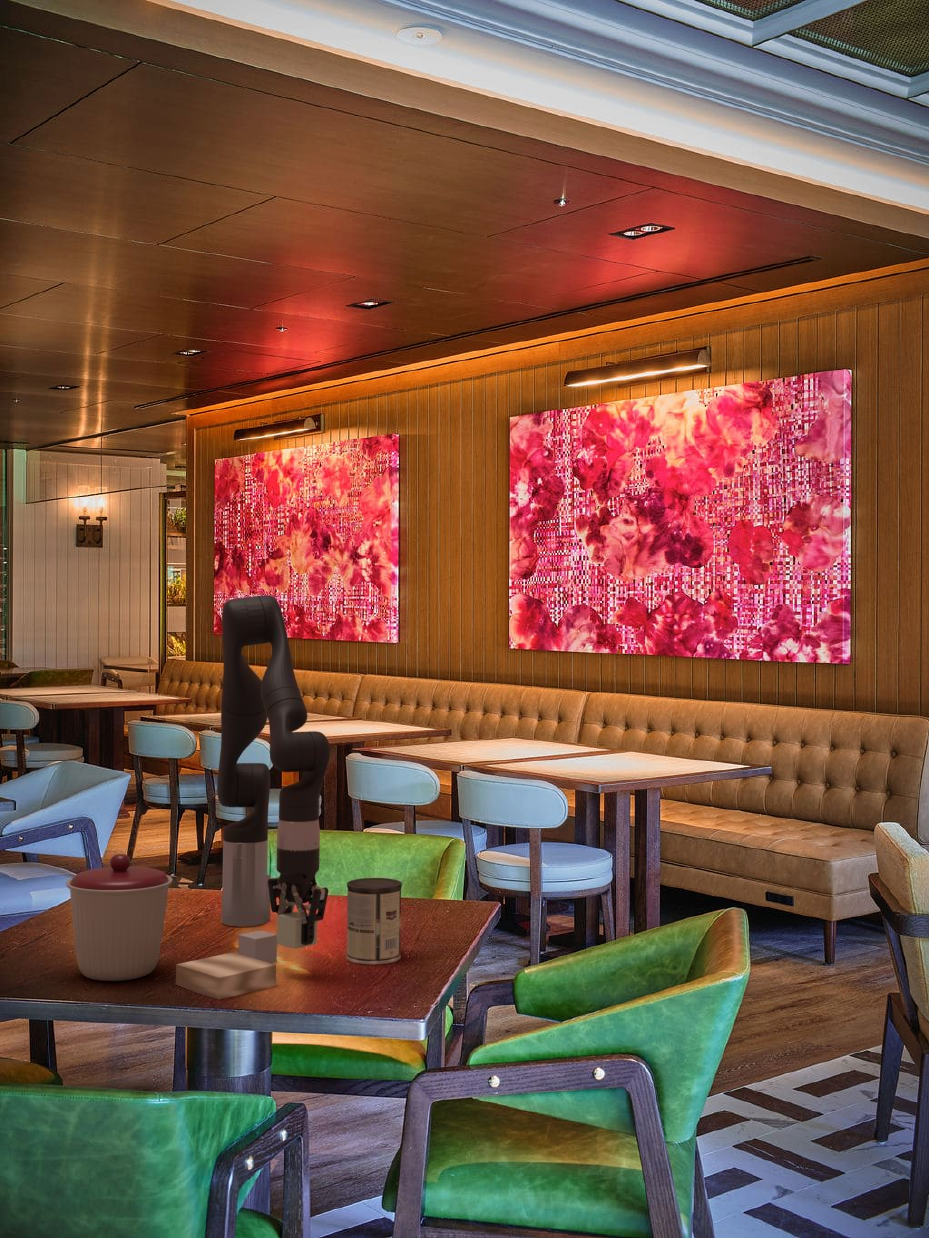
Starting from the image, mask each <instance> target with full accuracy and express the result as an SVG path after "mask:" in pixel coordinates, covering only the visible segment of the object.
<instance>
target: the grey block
mask: <svg viewBox="0 0 929 1238" xmlns="http://www.w3.org/2000/svg"><path fill="white" fill-rule="evenodd" d="M276 939H277V933H272V932H267V931H264V930H256V931H255V930H254V931H250V932H246V933H239V934H238V944H237V945H238V946H237V947H238V949H237V954H240V955H244V956H247V957H251V958H254V959H258V960H261V961H265V962H268V963H272V964H274V963H277V961H278V958H277V957H278V944H276Z"/></svg>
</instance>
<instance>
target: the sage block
mask: <svg viewBox="0 0 929 1238" xmlns="http://www.w3.org/2000/svg"><path fill="white" fill-rule="evenodd" d="M307 916H309V912H307ZM302 924H303V923H302V920H301V915H300V912H299V911H298V910H296V911H293V912H291V913H287V914H282V915H278V914H276V935H277V939H276V944H277V945H279V946H282V947H286V948H290V949H293V950H298V949H301V948H305V947H309V946H314V945H317V944H318V940H317V939H318V921H316V922H315V924H314V940H313V943H312V944H309V945H303V944H301V928H302Z"/></svg>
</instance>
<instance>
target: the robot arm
mask: <svg viewBox="0 0 929 1238" xmlns="http://www.w3.org/2000/svg"><path fill="white" fill-rule="evenodd" d="M221 613H222V614H221V632H222V635H221V636H222V637H221V638H222V639H221V640H222V656H223V657H222V659H223V672H222V673H223V674H222V675H223V676H222V689H221V690H222V691H221V702H220V703H221V704H220V706H221V707H220V723H221V724H220V726H221V727H220V735H221V737H220V754H219V762H218V771H217V784H216V793H217V798H218V802H219V803H220V805H221V806H222V807H226V808H253V810H252V811H251V813H249V815H247V816H246V817H244V818H243V819H240V820H238V821H235V822H232V823H229V824H227V825H226V826H225V827H224V828H223V832H222V833H223V834H222V835H223V837H222V838H223V839H222V841H223V842H222V843H223V847H222V888H221V889H222V891H221V896H222V897H221V923H222V924H223V925H225V926H231V927H241V928H242V927H245V928H246V927H256V926H260V925H261V926H262V925H263V924H266V923H267V922H270V921H271V912H272V913H276V915H282V914H287V913H291V912H294V909H295V906H296V911H299V912H300V915H301V920H302V923H303V924H302V928H301V944H303V945H309V944H312V943H313V940H314V924H315V922H316V921H317V922H319V921H322V920H323V919H324V916H325V911H326V905H327V901H328V895H329V889H328V887H326V886H325V887H320V886H319V885H318V884H317V879H316V875H317V873H318V871H320V857H321V856H320V853H321V852H320V850H321V849H320V848H321V847H320V845H321V843H320V842H321V837H320V836H321V829H320V820H319V819H320V795H321V792H322V787H323V784H324V779H325V775H326V772H327V768H328V765H329V762H330V758H331V744H330V742H329V740H328V737H327V736H326V735H325V734H324V733H323V732H321V731H313V730H312V731H297V730H299V729H301V728H302V727H303V726H305V724H306V723H307V721H308V711H307V707H306V705H305V702H304V699H303V696H302V694H301V691H300V688H299V685H298V682H297V679H296V675H295V670H294V666H293V659H292V654H291V649H290V644H289V638H288V633H287V628H286V623H285V618H284V615H283V612H282V607H281V605H280V603H279V601H278V600H277V599H276V597H274V596H272V595H271V594H270V595H269V594H267V595H266V594H264V595H257V596H256V595H255V596H254V595H253V596H247V597H245V596H244V597H237V598H232V599H227V600H226V601H225V603H224V605H223V607H222V612H221ZM267 643H269V644H270V647H271V655H270V658H269V662H268V665H267V667H266V669H265V671H264V674H263V677H262V679H261V678H260V677H259V676H258V674H257V673H256V672H255V671H254V670H253V669H252V668H251V667H250V665H249V664H248V662H247V660H246V659H245V657H244V655H243V652H242V651H243V648H244V647H247V646H255V645H263V644H267ZM267 721H268V725H269V759H270V762H271V764H272V765H273V766H274V768H275V769H276V770H277V771H279V772H282V773H299V772H301V773H302V772H303V774H302V775H301V778H300V780H298V781H297V782H294V783H292V784H289V785H286V786H285V785H284V786H283V787H282V788H281V789H280V791H279V795H278V796H279V797H278V824H277V830H276V831H277V833H276V866H275V867H276V871H277V872H278V873H279V874H280V875H279V877H272V876H271V875H269V874H268V857H269V855H268V853H269V852H268V850H269V849H268V847H269V828H268V827H269V806H270V805H269V803H270V794H271V793H270V790H271V773H270V769H269V766H268V765H267V764H266V763H262V762H238V760H239V759H240V758H241V756H242V754H243V753H244V751H245V750H246V749H247V748H248V747H250V745H251V744H252V743H253V742H254V741H255V740H256V739H257V738H258V737H259V735H260V734H261V732H262V731H263V730H264V729H265V726H266V724H267ZM277 899H278V901H277ZM277 903H278V904H277ZM307 903H308V904H307ZM307 910H308V912H307ZM307 913H309V916H307Z"/></svg>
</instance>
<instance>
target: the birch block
mask: <svg viewBox="0 0 929 1238" xmlns="http://www.w3.org/2000/svg"><path fill="white" fill-rule="evenodd" d="M276 983H277V964H275V963H268V962H265V961H261V960H258V959H254V958H251V957H247V956H244V955H240V954H238V952H228V953H223V954H218V955H213V956H209V957H205V958H200V959H195V960H191V961H186V962H182V963H181V962H180V963H177V964H176V963H175V986H176V985H178V986H181V987H184V988H186V989H185V990H187V989H188V991H190V990H191V991H190V992H194V993H197V994H199V995H203V996H205V997H209V998H212V999H215V1000H218V1001H219V1000H223V999H227V998H232V997H236V996H239V995H245V994H248V993H252V992H256V991H261V990H265V989H268V987H269V988H272V986H273V987H276V985H277V984H276ZM178 986H177V987H178ZM181 987H180V988H181ZM184 988H183V989H184ZM264 988H265V989H264Z"/></svg>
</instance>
